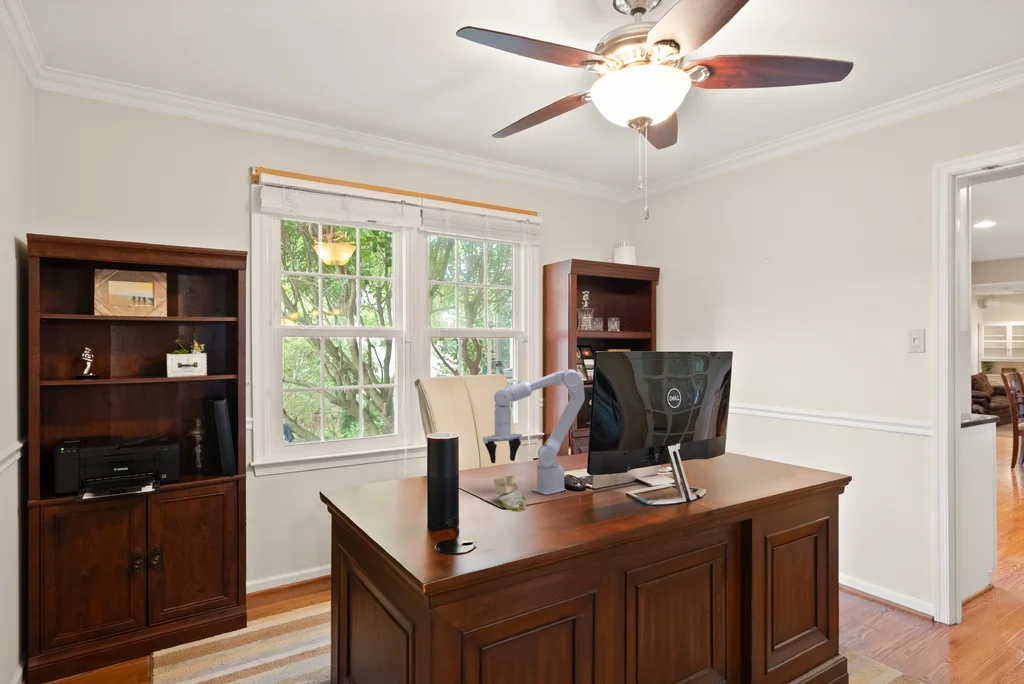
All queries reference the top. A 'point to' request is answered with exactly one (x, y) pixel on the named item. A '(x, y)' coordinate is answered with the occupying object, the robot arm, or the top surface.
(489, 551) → the top surface
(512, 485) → the beech block
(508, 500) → the decorative stone
